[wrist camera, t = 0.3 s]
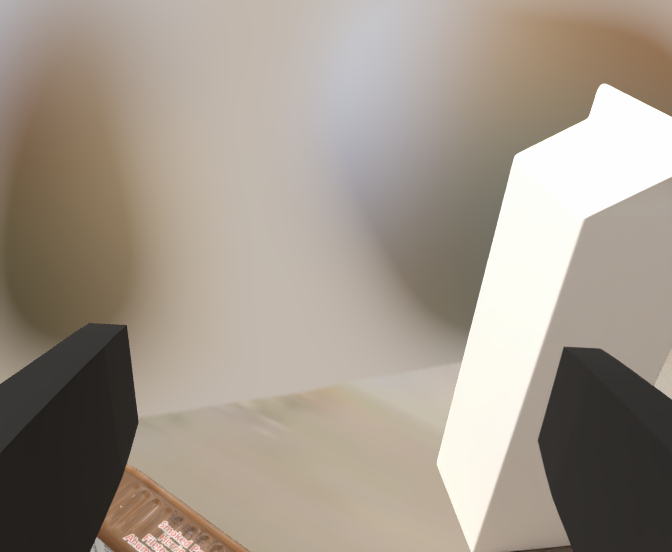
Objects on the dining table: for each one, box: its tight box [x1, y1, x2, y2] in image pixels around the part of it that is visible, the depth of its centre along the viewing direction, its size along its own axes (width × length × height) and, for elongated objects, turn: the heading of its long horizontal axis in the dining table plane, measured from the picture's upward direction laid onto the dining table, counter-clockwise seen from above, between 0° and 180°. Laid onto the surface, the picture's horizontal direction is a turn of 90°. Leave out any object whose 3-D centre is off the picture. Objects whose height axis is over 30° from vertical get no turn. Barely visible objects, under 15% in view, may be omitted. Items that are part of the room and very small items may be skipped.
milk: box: [437, 84, 672, 552], centre depth 28 cm, size 6×6×22 cm
